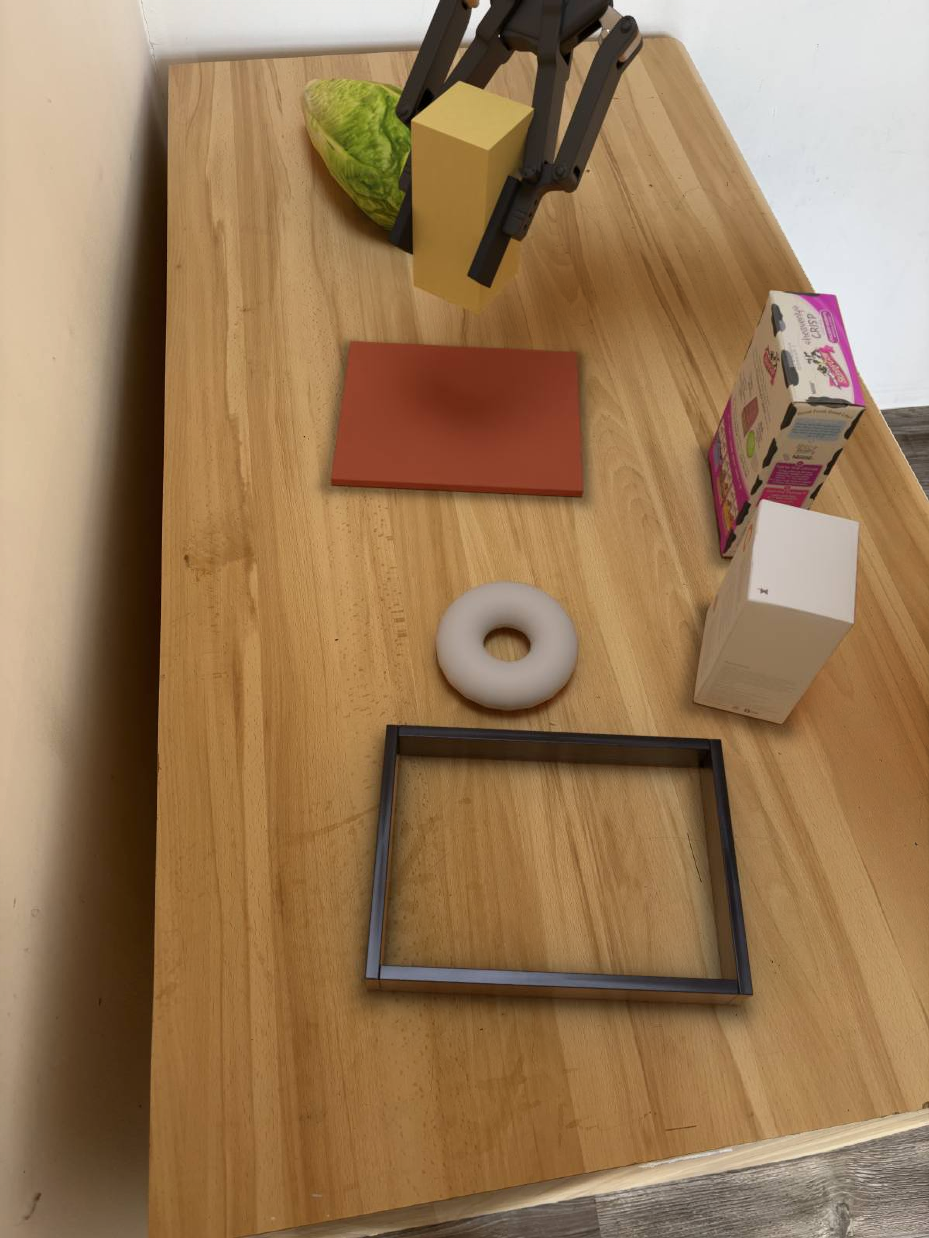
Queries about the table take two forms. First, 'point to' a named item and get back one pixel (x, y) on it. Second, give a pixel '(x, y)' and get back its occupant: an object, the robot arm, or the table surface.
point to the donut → (505, 679)
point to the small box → (778, 611)
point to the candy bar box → (785, 412)
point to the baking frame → (573, 750)
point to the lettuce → (360, 141)
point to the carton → (463, 188)
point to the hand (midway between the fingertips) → (439, 264)
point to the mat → (460, 420)
